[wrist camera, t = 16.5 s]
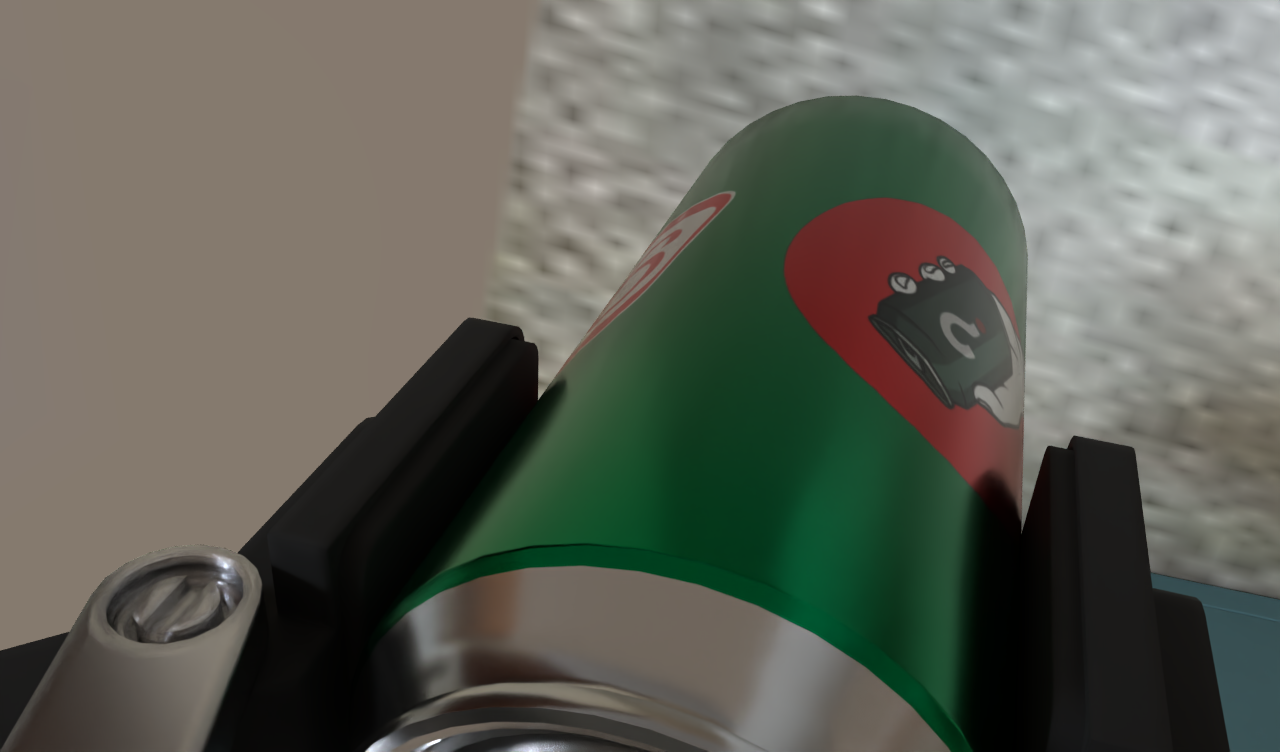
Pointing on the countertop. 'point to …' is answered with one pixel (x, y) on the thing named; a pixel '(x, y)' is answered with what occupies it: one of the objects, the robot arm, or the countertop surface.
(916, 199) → the soda can
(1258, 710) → the teal box
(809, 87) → the countertop surface
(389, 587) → the robot arm
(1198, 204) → the countertop surface
